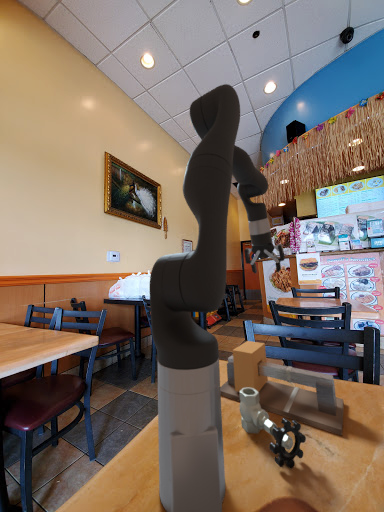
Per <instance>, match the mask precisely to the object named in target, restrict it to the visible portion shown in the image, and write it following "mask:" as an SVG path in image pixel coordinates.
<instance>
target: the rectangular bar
mask: <svg viewBox="0 0 384 512" xmlns="http://www.w3.org/2000/svg"><path fill="white" fill-rule="evenodd" d="M226 371H227V374H226V375H227V381H228V385H232V386H235V379H234V362H233V355H230V356H229V357H227V363H226ZM258 374H259V375H263V376H267V377H268V378H272V379H275V380H276V379H277V380H280V381H284V382H287V383H290V384H291V383H292V384H297V385H301V386H305V387H310V388H312V389H313V388H314V389H315V392H316V393H317V402H318V411H320V412H323V413H327V414H330V415H333V416H336V410H337V403H336V397H337V396H336V395H337V394H336V388H335V387H336V385H335V379H334V375H332V374H327V373H322V372H316V371H312V370H307V369H302V368H297V367H293V366H290V365H288V366H287V365H281V364H278V363H271V362H268V361H266V362H262V361H259V362H258Z"/></svg>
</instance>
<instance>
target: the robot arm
mask: <svg viewBox="0 0 384 512" xmlns="http://www.w3.org/2000/svg"><path fill="white" fill-rule="evenodd" d="M189 117H190V122H191V125H192V128H193V130H194V131H195V134H196V135H197V136H198V138H199V139H200V142H199V143H198V144H197V146H195V148H194V150H192V153H191V154H190V156H189V159H188V161H187V164H186V167H185V173H184V177H183V181H182V194H183V197H184V200H185V202H186V204H187V206H188V208H189V210H190V211H191V212H192V215H193V217H194V218H195V219H196V222H197V224H198V235H197V243H196V247H195V249H194V250H193V251H184V252H178V253H170V254H165V255H162V256H160V257H159V258H158V259H157V260H156V261H155V262H154V264H153V266H152V268H151V272H150V277H149V307H150V308H149V309H150V320H151V321H150V322H151V336H152V341H153V344H154V345H155V349H156V353H157V355H156V356H157V417H158V420H157V421H158V422H157V423H158V425H157V426H158V431H157V432H158V467H159V468H158V473H159V474H158V476H159V477H158V479H159V480H158V484H159V493H158V494H159V499H160V502H161V505H162V507H163V508H164V509H165V511H166V512H223V502H224V500H225V495H226V476H225V475H226V473H225V472H226V471H225V455H224V439H223V438H224V437H223V436H224V435H223V434H224V433H223V416H222V415H223V414H222V395H221V392H220V387H221V373H220V372H221V371H220V355H219V354H220V352H219V342H218V339H217V337H216V336H215V335H214V334H213V333H211V332H209V331H208V330H206V329H203V328H202V327H201V326H200V325H198V324H197V323H196V322H195V320H194V319H193V317H192V316H191V313H213V312H216V311H217V310H218V309H219V308H220V307H221V305H222V303H223V301H224V298H225V294H226V287H227V271H228V270H227V260H228V259H227V258H228V257H227V255H228V254H227V245H228V243H227V234H228V233H227V232H228V230H227V229H228V228H227V227H228V215H229V214H228V213H229V204H230V197H231V196H230V194H231V189H232V181H233V180H232V179H233V178H234V180H235V181H236V183H238V184H237V187H236V191H237V194H238V196H239V199H240V200H241V202H242V204H243V206H244V209H245V211H246V216H247V217H246V218H247V222H248V223H247V224H248V232H249V237H250V242H251V248H249V247H246V248H245V249H244V258H245V264H249V265H250V266H251V270H252V271H251V272H252V273H253V274H257V273H258V268H257V264H256V262H257V259H264V258H265V259H268V258H270V259H271V260H273V261H274V262H275V270H276V273H280V272H281V269H282V266H281V262H284V261H285V259H286V256H285V253H284V247H283V244H282V243H279V244H276V245H274V243H273V238H272V233H271V224H270V222H269V218H268V211H267V206H266V204H265V203H264V202H254V201H252V198H255V197H259V196H264V195H265V194H266V193H267V191H268V190H269V183H268V180H267V178H266V176H265V175H264V174H263V173H262V172H261V170H260V171H259V170H258V169H257V168H256V167H255V165H254V163H253V160H252V158H251V156H250V154H248V152H247V151H246V150H245V149H243V148H242V147H239V146H237V145H235V144H236V139H237V135H238V131H239V126H240V122H241V104H240V99H239V96H238V93H237V91H236V90H235V88H234V87H233V86H232V85H231V84H221V85H218V86H217V87H215V88H213V89H212V90H209V91H208V92H206V93H205V94H202V95H201V96H200V97H197V98H196V99H195V100H193V101H192V102H191V103H190V106H189ZM275 249H276V252H278V255H279V256H277V255H276V253H275V252H274V250H275ZM251 252H252V253H253V254H254V256H253V258H252V259H251V256H250V254H251Z"/></svg>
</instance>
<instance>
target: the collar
mask: <svg viewBox="0 0 384 512" xmlns="http://www.w3.org/2000/svg"><path fill="white" fill-rule="evenodd" d="M232 356H233V362H234V379H235V391H238V392H240V390H241V389H242V388H246V387H250V388H254V389H256V390H257V391H258V392H259V391H260V390H261V388H262V387H263V386H264V385H265V383H266V382H267V381H268V380H269V379H268V378H269V377H267V376H263V375H259V374H258V362H259V361H262V362H267V354H266V343H264V342H257V341H251V340H246V341H245V342H243V343H242V344H240V345H239V346H237V347H236V348H234V349H232Z"/></svg>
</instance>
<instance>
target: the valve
mask: <svg viewBox="0 0 384 512" xmlns="http://www.w3.org/2000/svg"><path fill="white" fill-rule="evenodd" d="M240 400H241V402H240V401H239V402H240V403H239V412H240V416H241V417H240V420H241V421H240V422H241V423H240V424H241V427H242V429H243V430H244V431H245V432H246V433H248V434H259V432H260V431H261V430H264V431H265V432H267V433H268V434H269V435H270V436H272V437H273V439H274V440H275V443H273V442H272V441H271V442H270V443H269V446H268V448H269V451H271V452H272V453H273V454H274V455H277V456H274V459H273V460H274V462H275V463H276V465H278V467H279V468H283V467H284V466H285V464H286V466H287V467H288V468H289V469H293V468H295V466H296V465H295V464H296V462H295V460H294V459H295V457H297V458H299V459H302V458H304V451H303V449H301V448H300V447H301V444H303V443H306V441H307V438H306V437H307V436H306V435H305V434H304V433H302V432H301V430H302V426H301V425H302V424H301V422H299V421H296V420H293V419H291V420H292V421H290V420H289V419H288V418H287V417H282V418H281V422H280V423H281V424H282V425H283V427H278V425H277V423H275V422H274V421H273V420H270V416H269V413H268V411H266V410H263V409H261V406H260V404H259V401H260V398H259V392H258V391H257V390H256V389H254V388H250V387H246V388H242V389H241V390H240ZM292 424H293V425H292ZM289 432H290V433H292V434H293V437H294V439H293V438H292V437H291V435H290V434H289ZM289 450H290V452H288V451H289Z"/></svg>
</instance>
